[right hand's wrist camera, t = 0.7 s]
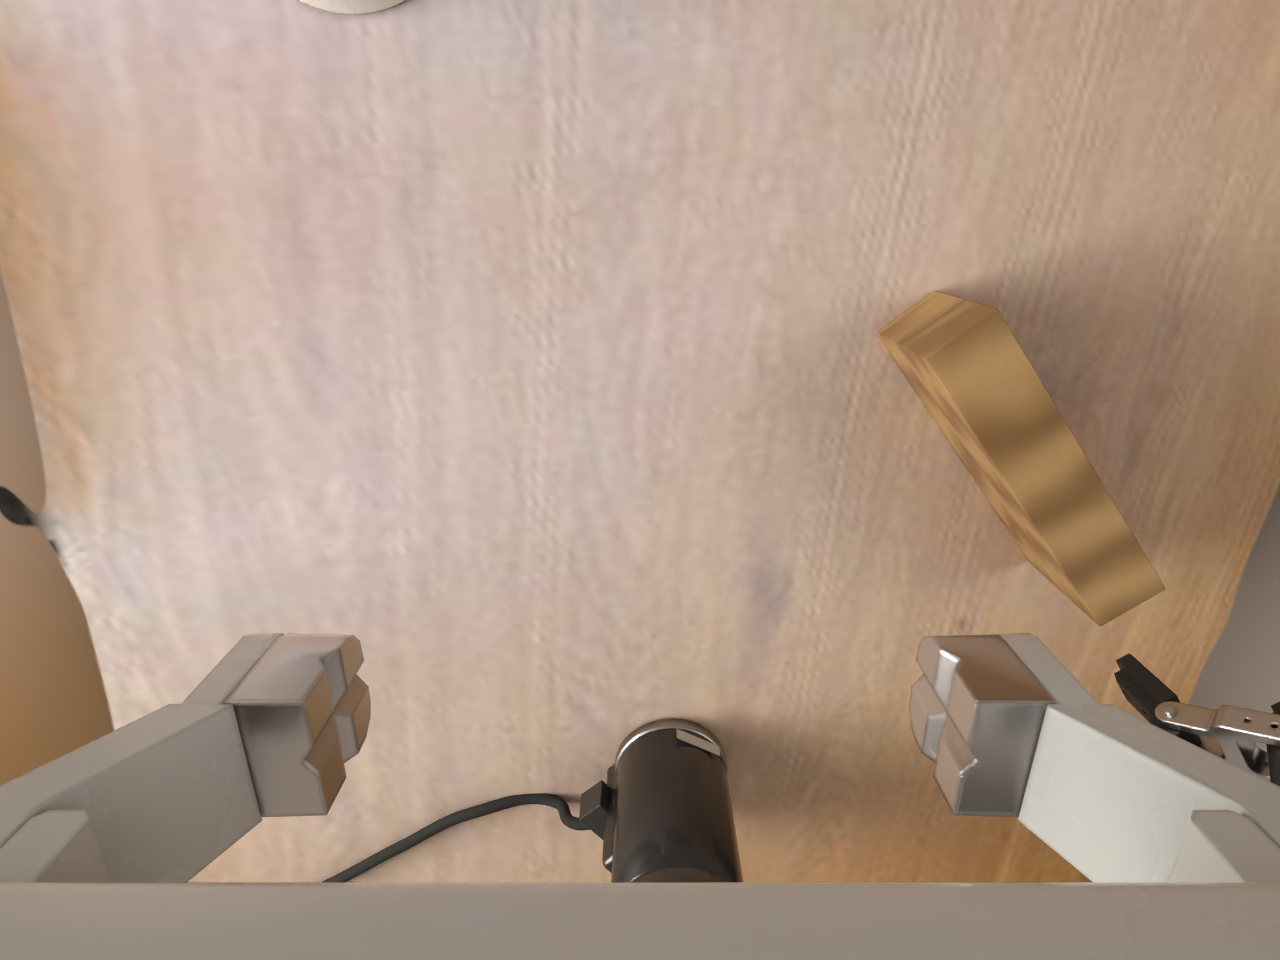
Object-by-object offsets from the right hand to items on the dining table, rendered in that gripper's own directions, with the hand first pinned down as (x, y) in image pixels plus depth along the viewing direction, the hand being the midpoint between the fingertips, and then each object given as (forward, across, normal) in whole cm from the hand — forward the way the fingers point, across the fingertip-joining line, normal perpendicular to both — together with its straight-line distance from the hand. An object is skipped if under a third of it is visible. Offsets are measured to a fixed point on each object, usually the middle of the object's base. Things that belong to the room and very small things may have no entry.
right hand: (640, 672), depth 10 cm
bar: (+40, -24, +9) cm, 47 cm away
